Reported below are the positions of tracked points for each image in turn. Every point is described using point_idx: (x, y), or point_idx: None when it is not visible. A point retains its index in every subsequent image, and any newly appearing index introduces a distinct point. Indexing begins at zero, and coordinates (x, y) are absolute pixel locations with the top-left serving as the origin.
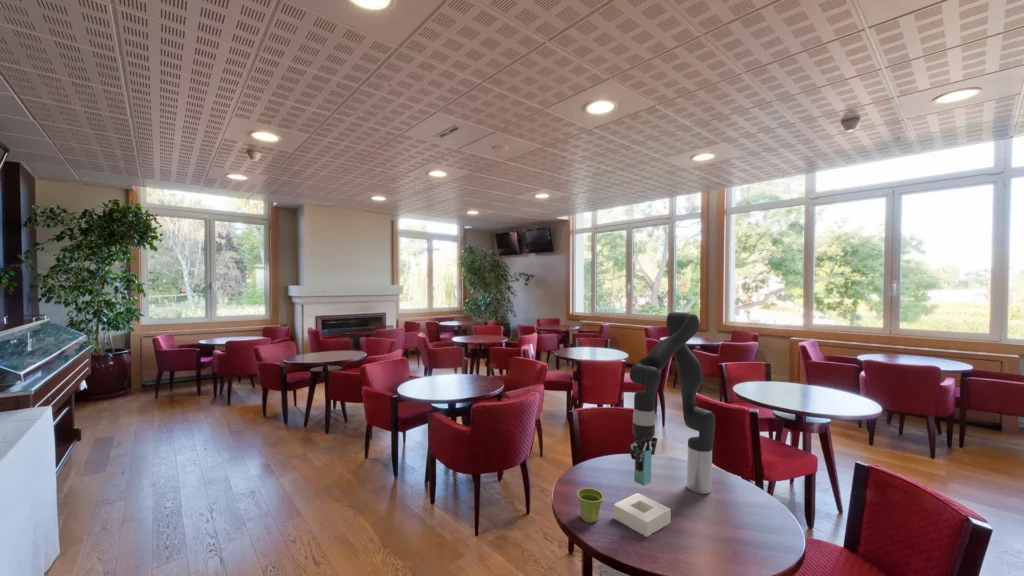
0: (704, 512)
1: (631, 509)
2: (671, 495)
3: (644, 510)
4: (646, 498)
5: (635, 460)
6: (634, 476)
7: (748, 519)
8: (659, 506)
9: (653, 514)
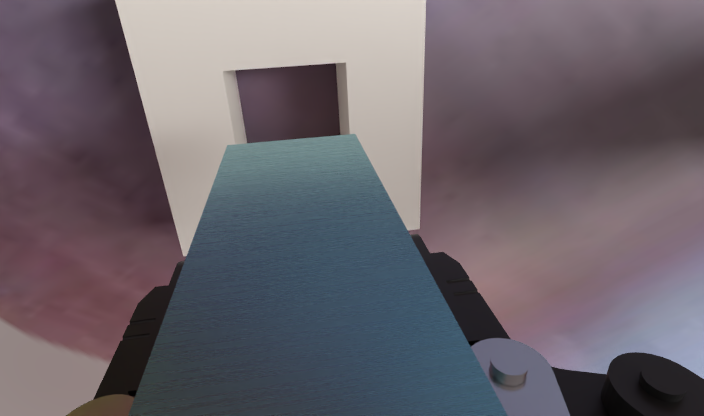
0: (601, 215)
1: (195, 114)
2: (667, 17)
3: (341, 92)
4: (408, 69)
5: (171, 320)
6: (220, 165)
7: (658, 317)
8: (390, 181)
9: None
